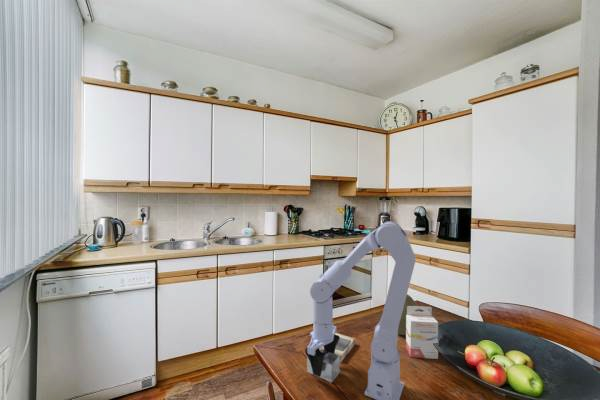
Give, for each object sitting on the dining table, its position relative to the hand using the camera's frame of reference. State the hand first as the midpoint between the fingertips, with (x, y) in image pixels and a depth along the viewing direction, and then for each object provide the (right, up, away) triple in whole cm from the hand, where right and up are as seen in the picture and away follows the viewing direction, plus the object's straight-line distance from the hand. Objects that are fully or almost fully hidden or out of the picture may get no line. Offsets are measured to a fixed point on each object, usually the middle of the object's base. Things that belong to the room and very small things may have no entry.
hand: (323, 367), depth 75 cm
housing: (0, -2, 0) cm, 2 cm away
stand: (+4, -2, +13) cm, 13 cm away
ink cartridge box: (+33, -2, +9) cm, 34 cm away
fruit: (+32, -2, +22) cm, 39 cm away
